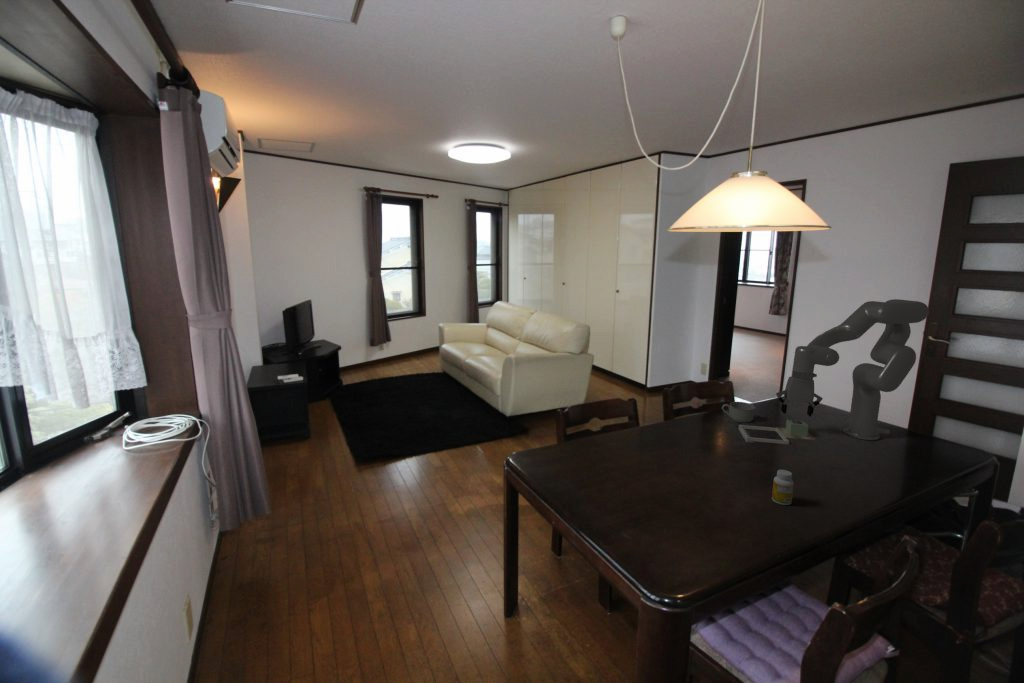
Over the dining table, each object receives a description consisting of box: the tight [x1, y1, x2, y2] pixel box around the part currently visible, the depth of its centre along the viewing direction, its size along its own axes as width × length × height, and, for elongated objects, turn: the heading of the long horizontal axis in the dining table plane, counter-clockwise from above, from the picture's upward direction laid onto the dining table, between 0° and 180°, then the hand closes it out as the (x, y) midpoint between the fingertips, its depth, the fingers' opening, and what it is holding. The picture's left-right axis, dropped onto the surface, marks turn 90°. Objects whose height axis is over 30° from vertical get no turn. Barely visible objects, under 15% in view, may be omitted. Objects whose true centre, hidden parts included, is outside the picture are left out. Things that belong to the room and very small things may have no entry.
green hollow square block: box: [785, 419, 809, 437], centre depth 195 cm, size 6×6×5 cm
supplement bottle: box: [771, 469, 795, 506], centre depth 141 cm, size 5×5×10 cm
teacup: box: [721, 401, 756, 424], centre depth 213 cm, size 14×11×8 cm
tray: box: [738, 424, 790, 445], centre depth 193 cm, size 16×16×2 cm
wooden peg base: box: [776, 421, 817, 441], centre depth 195 cm, size 12×12×6 cm
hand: (796, 414), depth 194 cm, fingers open, 9 cm apart
